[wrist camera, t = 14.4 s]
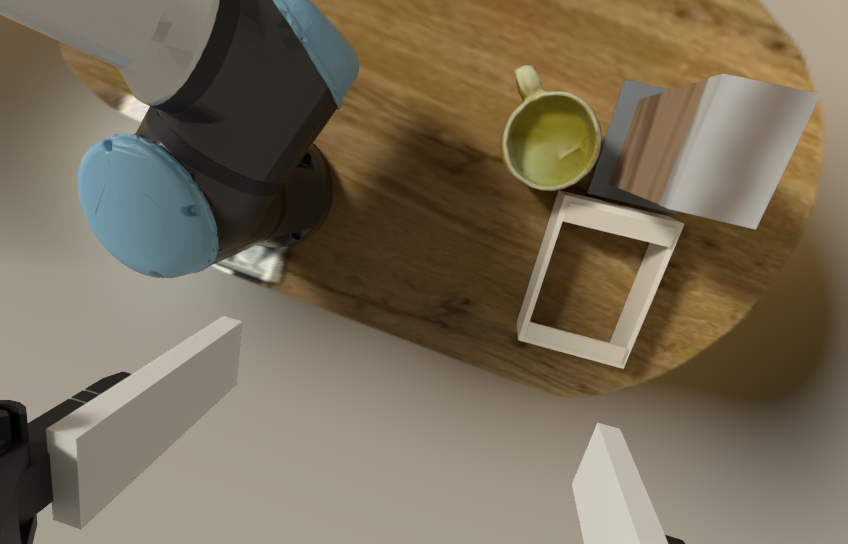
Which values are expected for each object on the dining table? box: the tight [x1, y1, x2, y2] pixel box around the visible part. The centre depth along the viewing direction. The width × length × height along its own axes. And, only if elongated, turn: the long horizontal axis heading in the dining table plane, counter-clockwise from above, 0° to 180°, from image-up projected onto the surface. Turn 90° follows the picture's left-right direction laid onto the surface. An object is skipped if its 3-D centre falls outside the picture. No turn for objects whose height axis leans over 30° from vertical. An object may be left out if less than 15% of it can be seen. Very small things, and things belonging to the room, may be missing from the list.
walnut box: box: [609, 74, 821, 230], centre depth 38 cm, size 6×9×18 cm
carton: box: [516, 190, 684, 369], centre depth 49 cm, size 12×17×5 cm
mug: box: [501, 66, 602, 191], centre depth 44 cm, size 12×10×10 cm
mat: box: [587, 80, 679, 215], centre depth 47 cm, size 10×12×1 cm
